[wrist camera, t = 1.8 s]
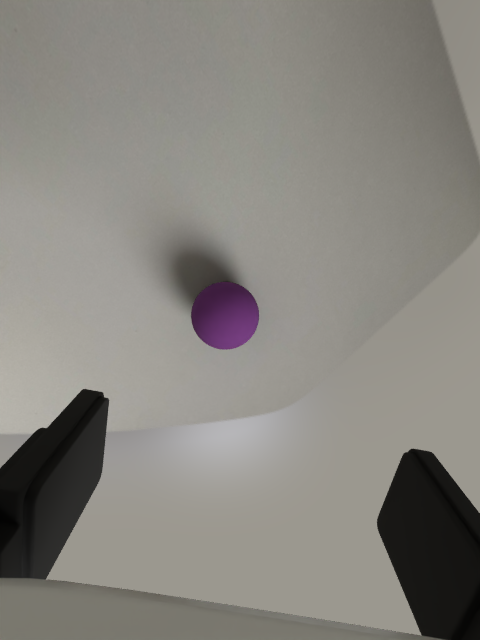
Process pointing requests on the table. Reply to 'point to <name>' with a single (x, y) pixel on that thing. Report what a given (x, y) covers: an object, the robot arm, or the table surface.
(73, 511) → the robot arm
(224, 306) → the ball
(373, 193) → the table surface
